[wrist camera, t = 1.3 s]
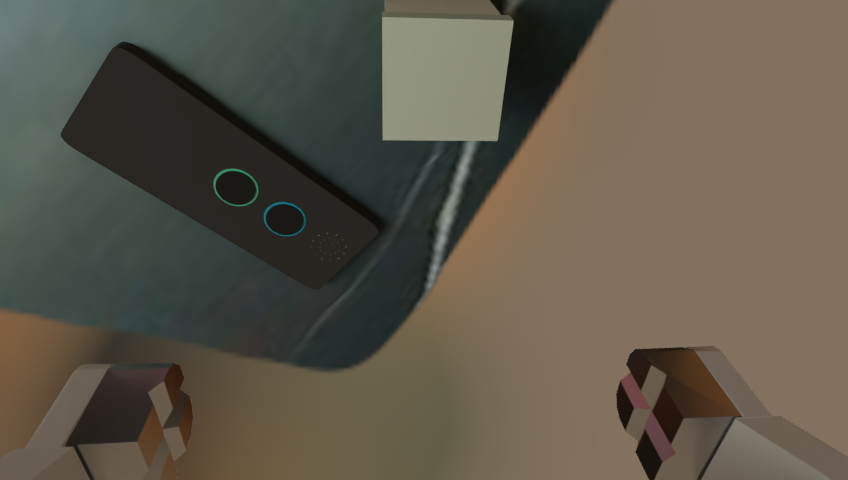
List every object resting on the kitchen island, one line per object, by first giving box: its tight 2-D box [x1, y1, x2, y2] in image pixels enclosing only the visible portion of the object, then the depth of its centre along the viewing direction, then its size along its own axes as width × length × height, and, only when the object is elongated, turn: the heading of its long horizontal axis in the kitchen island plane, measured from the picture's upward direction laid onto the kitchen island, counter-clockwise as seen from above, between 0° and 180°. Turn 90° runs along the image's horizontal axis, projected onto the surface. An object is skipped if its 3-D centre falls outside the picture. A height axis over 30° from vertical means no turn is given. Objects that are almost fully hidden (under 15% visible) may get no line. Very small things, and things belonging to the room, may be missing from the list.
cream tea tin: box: [382, 0, 514, 141], centre depth 29 cm, size 6×6×8 cm
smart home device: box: [61, 42, 379, 289], centre depth 36 cm, size 8×2×20 cm
